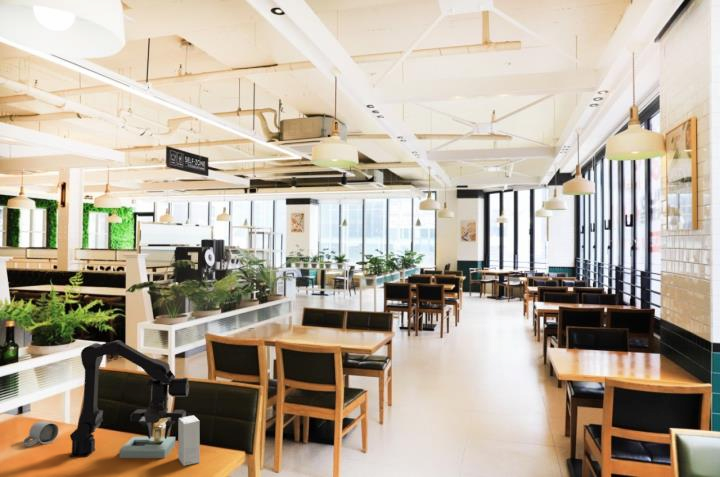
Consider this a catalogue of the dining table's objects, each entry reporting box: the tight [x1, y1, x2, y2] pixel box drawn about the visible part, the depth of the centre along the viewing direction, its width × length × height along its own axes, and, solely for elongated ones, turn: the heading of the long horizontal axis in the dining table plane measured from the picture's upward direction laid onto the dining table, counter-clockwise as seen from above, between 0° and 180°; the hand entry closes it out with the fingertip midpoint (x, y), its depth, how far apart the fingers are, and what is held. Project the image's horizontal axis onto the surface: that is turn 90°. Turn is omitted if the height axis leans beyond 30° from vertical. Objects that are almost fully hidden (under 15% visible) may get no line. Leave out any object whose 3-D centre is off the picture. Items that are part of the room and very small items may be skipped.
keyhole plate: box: [119, 436, 176, 459], centre depth 184 cm, size 16×12×3 cm
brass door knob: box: [152, 424, 164, 445], centre depth 184 cm, size 5×5×9 cm
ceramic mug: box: [22, 420, 60, 448], centre depth 190 cm, size 11×8×8 cm
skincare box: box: [177, 415, 201, 467], centre depth 177 cm, size 8×6×15 cm
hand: (157, 438), depth 184 cm, fingers open, 6 cm apart
